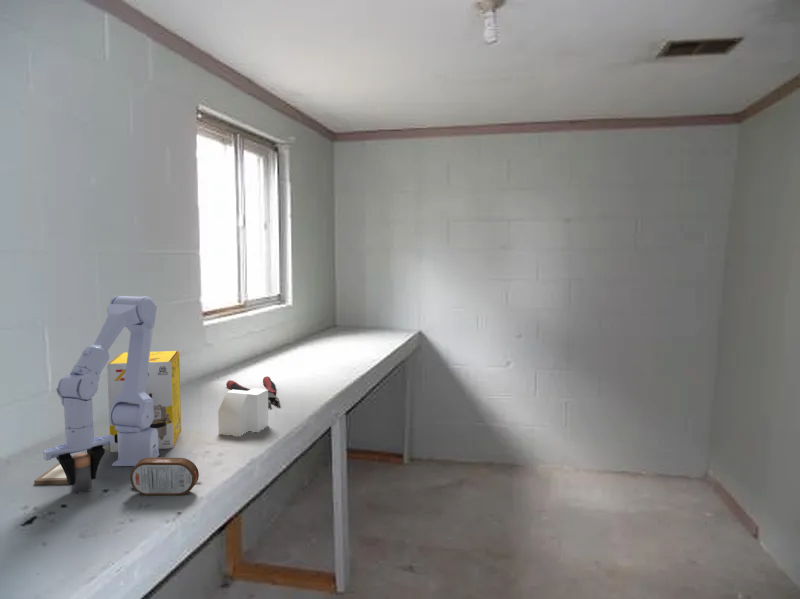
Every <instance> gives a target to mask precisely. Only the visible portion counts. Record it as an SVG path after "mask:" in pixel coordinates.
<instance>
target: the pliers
mask: <svg viewBox="0 0 800 599" xmlns="http://www.w3.org/2000/svg"><path fill="white" fill-rule="evenodd" d="M262 384H263V385H264V386H265V388H266V390H268V409H269V408H271V409H272V405H274V406H275V407H276V406H277V408H278V407H279V408H280V407H281V406H280V405H281V403H280V399H279V397H278V396H277V386H276V384H275V383H274V382H273V381H272V379H271V377H270V376H267V375H266V376H264V377H263V379H262ZM225 385H226V388H228V389H229V388H230V390H231V389H232V390H244V391H248V390H251V389H252V388H248V387H245V386H242V385H241V384H239V383H238V382H236V381H235V380H231V379H229V380H227V382H226V384H225Z"/></svg>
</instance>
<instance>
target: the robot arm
mask: <svg viewBox="0 0 800 599" xmlns="http://www.w3.org/2000/svg"><path fill="white" fill-rule="evenodd" d="M106 313H107V318H105V321H104V324H103V326H102V327H101V329H100V332H99V334H98V336H97V338H96V339H95V342H93V345H90V346H89V345H88V346H86V347H85V349H83V351H82V352H81V355H80V356H79V358H78V360H77V361H76V363H75V365H74V366H73V368H72V369H71V371H70V373H68V374H66V375H64V376H62V377H61V379H59V381H58V384H57V388H55V389H56V394H57V396H58V397H59V398H60V400H61V405H62V406H63V411H64V413H63V414H64V432H65V434H64V436H65V443H62V444H59V445H57V446H53V447H51V448H47V449H44V450H43V460H45V461H47V462H48V461H51V460H52V459H55V458H56V460H57V461H58V463H60V464H61V466H62V468H63V470H64V472H65V475H66V478H67V481H68V484H67V485H69V486H71V487H72V485H74V474H73V467H74V459H73V458H72V456H73V455H72V454H75V453H79V452H84V451H86V453H88V454H90V455H91V478H92V480H95V479H96V477H97V472H98V470H99V466H100V463H101V461H102V458H103V457H104V455H105V453H106V452H105V450H106V449H105V448H104V446H105V447H106V446H110V445H113V444H115V440H114V436H112V435H110V434H108V435H103V436H102V435H101V436H95V435H94V430H95V429H94V428H95V427H94V411H93V408H94V407H93V398H94V396H95V395H96V394H97V393H98V390H99V382H100V376H101V373H102V371H103V370H104V368H105V367H106V366H107V364H108V361H109V360H110V353H109V350H110V348H111V346H112V345H113V344H114V343H115V341H116V340H117V338H118V337H119V335H120V334H121V332H123V330H124V328H126V329H128V331H129V333H130V334H129V335H130V336H129V342H128V348H127V349H128V350H127V351H128V357H127V365H126V372H125V380H124V388H123V392H122V393H120V394H119V395H118V396H116V397H115V398H114V403H113V406H112V408H111V410H110V413H109V412H108V415H109V416H108V419H109V420H110V423H111V424H112V425H113V426H115V430H117V436H118V452H117V454H118V455H117V456H118V458H117V460H115V461H114V462H113V463H112V465H111V466H112V467H135V466H136V464H137V463H138V462H139V461H140V460H142V459H144V458H148V457H157V458H159V456H160V453H159V452H160V449H159V447H158V431H157V429H156V428H150V425H151V423H152V422H153V420H154V409H153V402H154V400H153V399H152V398H151V397H150V396H149V395H148V394H147V393H146V392H145V389H146V381H147V373H148V365H149V357H150V352H151V348H152V341H153V340H152V339H153V332H154V328H155V324H156V322H155V321H156V313H157V305H156V303H155V302H154V300H153V299H152V297H150V296H133V295H132V296H130V295H128V296H127V295H115V296H113V297H112V298H111V300H110V301H109V304H108V305H107V307H106ZM128 402H134V403H138V404H131V403H128Z"/></svg>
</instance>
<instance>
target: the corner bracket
mask: <svg viewBox="0 0 800 599" xmlns="http://www.w3.org/2000/svg"><path fill="white" fill-rule="evenodd" d="M250 389H251V390H248V391H244V390H231V389H230V390H228V391H226V392H225V395H224V397H223V399H222V402H221V404H220V406H219V408H218V411H217V416H218V419H217V420H218V424H217V425H218V435H221V434H223V436H229V435H233V436H232V437H238V436H240V437H242V436H243V434H244V433H245V434H247V433H249V432H248V431H252V432H251V433H254V432H258V433H260V432H261V431H260V430H262V429H263V428H265V427H266V426H268V427H269V408H268V390H266V389H267V388H266V389H265V388H257V387H256V388H255V387H254V388H250ZM266 428H267V427H266ZM266 428H265V429H266ZM263 430H264V429H263ZM263 430H262V431H263ZM259 431H260V432H259ZM246 432H247V433H246ZM245 434H244V435H245ZM241 435H242V436H241Z"/></svg>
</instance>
